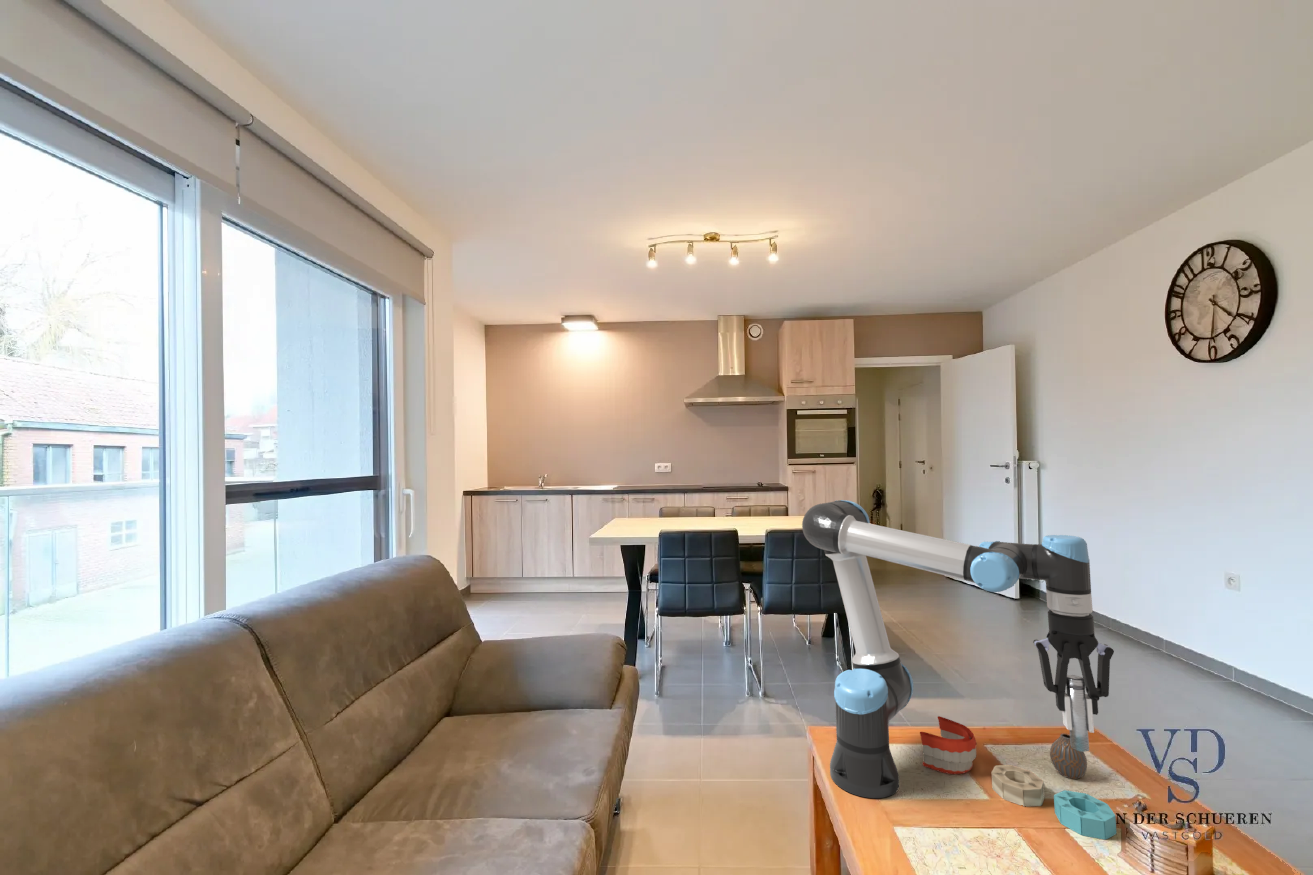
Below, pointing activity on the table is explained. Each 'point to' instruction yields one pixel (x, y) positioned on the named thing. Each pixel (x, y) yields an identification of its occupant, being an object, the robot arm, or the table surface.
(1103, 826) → the bead teal
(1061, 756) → the vase
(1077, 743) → the capped vial
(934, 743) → the toy
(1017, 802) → the bead birch
